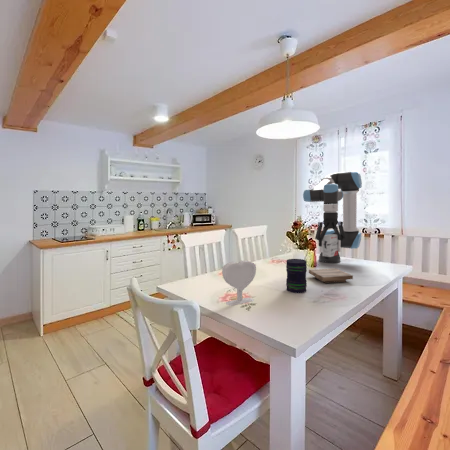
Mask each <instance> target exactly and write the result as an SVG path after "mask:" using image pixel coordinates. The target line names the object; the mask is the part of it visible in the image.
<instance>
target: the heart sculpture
mask: <svg viewBox="0 0 450 450" xmlns="http://www.w3.org/2000/svg"><path fill="white" fill-rule="evenodd" d="M256 266H257V265H256V264H255V263H254V262H252V261H248V260H244V259H243V260H240V261H238V262H235V261H231V262H228V263H225V264H224V265H223V266H222V270H221V272H222V278H223V280H224V281H225V283H226V284H228V285H229V286H231V287H232V288H234V289H236V299H234V300H229V301H226V302H225V304H226V305H227V306H229V307H230V306H231V307H232V306H233V307H234V306H237V305H241V304H246V303H250V302H254V299H253V298H251V297H243V290H245V289H246V288H247V287H248V286H249V285H250V284H251V283H252V282H253V281H254V279H255V276H256V273H257V267H256Z"/></svg>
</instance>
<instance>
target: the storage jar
mask: <svg viewBox="0 0 450 450" xmlns="http://www.w3.org/2000/svg"><path fill="white" fill-rule="evenodd" d="M285 267H286V269H285V270H286V284H285V285H286V291H287V292H288V293H291V294H304V293H307V286H308V284H307V272H308V271H307V269H308V265H307V260H306V259H302V258H289V259H286V266H285Z"/></svg>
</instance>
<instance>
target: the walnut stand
mask: <svg viewBox="0 0 450 450" xmlns="http://www.w3.org/2000/svg"><path fill="white" fill-rule="evenodd" d="M308 273H309V275H311V276H313V277H314V278H316V279H317V280H319V281H321V282H322V283H325V284H332V283H333V284H334V283H335V284H336V283H346V282H347V280H353V279H354V275H353V274H350V273H348V272H345V271H343V270H341V269H338V268H336V267H335V268H334V267H333V268H317V269H315V268H314V269H308Z"/></svg>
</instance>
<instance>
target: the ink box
mask: <svg viewBox="0 0 450 450" xmlns="http://www.w3.org/2000/svg"><path fill="white" fill-rule="evenodd" d="M322 241H324V250H323V253H322V256H327V257H332V256H336V255H338V235H337V234H329V235H325V236H324V238H323V240H322Z"/></svg>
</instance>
